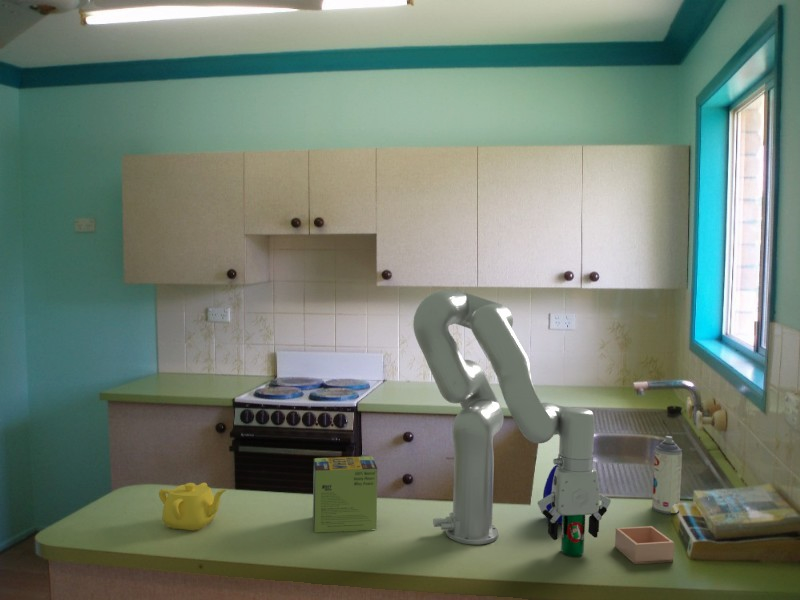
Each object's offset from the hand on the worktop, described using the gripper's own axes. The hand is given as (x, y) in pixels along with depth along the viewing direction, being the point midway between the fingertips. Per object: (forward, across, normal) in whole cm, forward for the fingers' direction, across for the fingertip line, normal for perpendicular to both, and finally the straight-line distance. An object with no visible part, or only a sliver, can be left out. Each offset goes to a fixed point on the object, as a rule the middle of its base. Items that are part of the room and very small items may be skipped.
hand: (573, 536), depth 156 cm
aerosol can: (+4, +37, +22) cm, 43 cm away
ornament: (+4, +5, +18) cm, 19 cm away
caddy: (+4, +16, -3) cm, 17 cm away
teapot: (+4, -87, +28) cm, 91 cm away
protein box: (+4, -50, +24) cm, 56 cm away
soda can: (+4, 0, 0) cm, 4 cm away
